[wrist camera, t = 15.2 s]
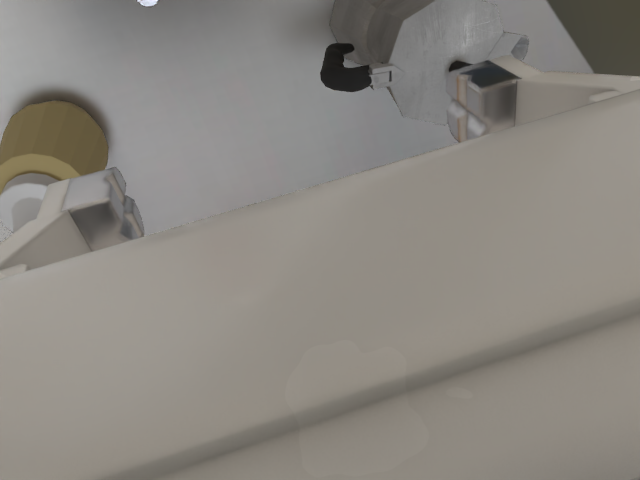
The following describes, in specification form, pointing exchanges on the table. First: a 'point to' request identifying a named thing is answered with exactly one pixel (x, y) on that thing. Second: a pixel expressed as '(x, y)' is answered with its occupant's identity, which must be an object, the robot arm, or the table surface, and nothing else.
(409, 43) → the coffeepot
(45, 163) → the squeeze bottle
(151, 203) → the table surface
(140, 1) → the square frame
